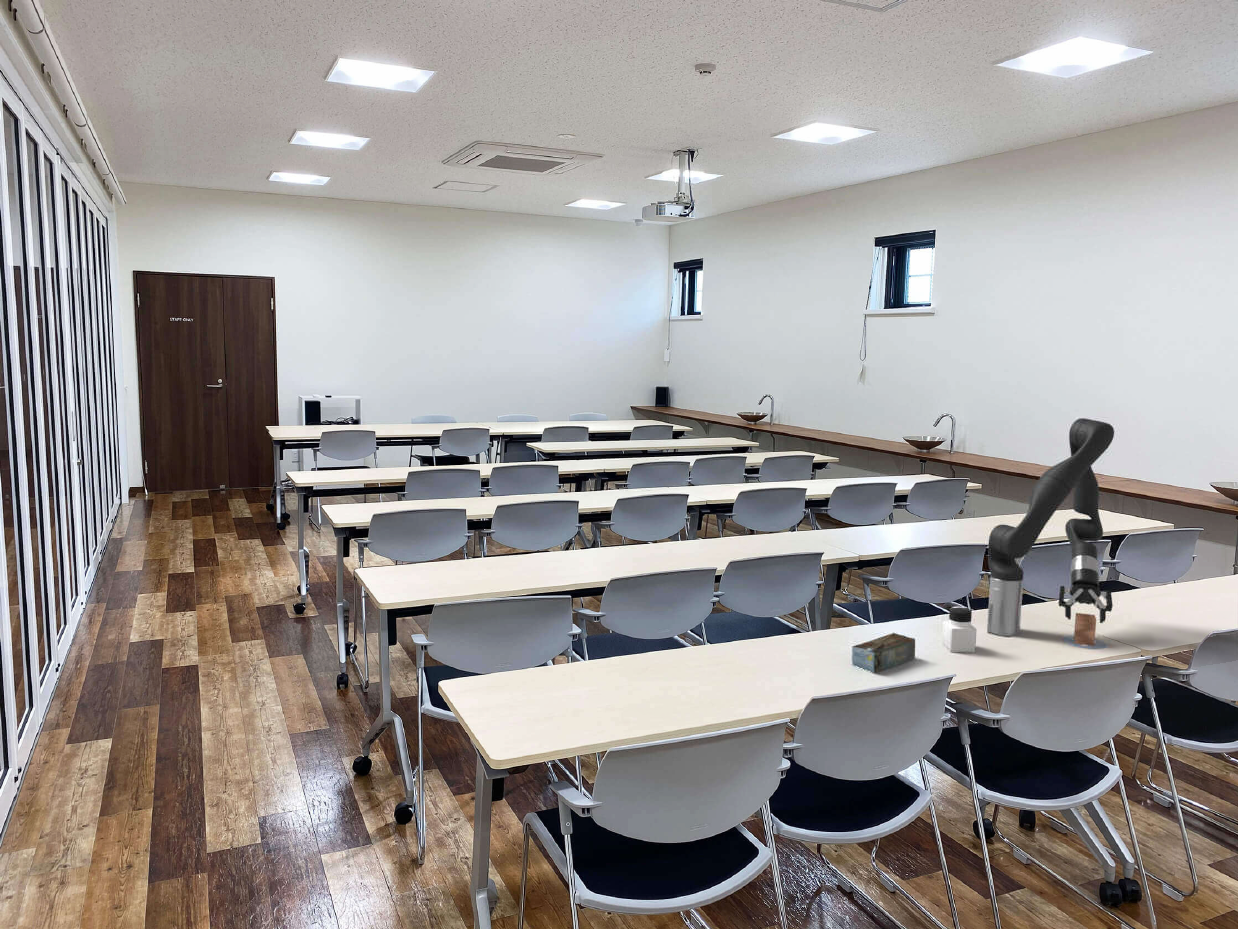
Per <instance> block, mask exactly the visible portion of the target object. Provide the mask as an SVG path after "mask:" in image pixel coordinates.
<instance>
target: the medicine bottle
mask: <svg viewBox="0 0 1238 929" xmlns="http://www.w3.org/2000/svg"><path fill="white" fill-rule="evenodd" d="M972 613H973V612H972V611H971V609H969V608H967V607H964V606H953V607H951V608H950V609H949V614H948V621H947V620H946V621H945V620H944V621H943V624H942V625H943V627H942V642H941V643H942V645H943V646H944V647H945V648H946V649H947V650H948V651H949V652H951V653H975V652H976V645H977V644H976V643H977V628H976V627H975V626H973V625H972V615H973V614H972Z"/></svg>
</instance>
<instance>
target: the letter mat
mask: <svg viewBox="0 0 1238 929" xmlns="http://www.w3.org/2000/svg"><path fill="white" fill-rule="evenodd" d="M1060 640H1061V641H1062V643H1065V644H1067V645H1068V646H1072V647H1075V648H1080V649H1081V648H1082V649H1087V650H1102V649H1105V648H1107V647H1108V645H1107V643H1106V642H1104V641H1102V640H1100V639H1096V638H1095V643H1094V646H1091V645H1083V644H1075V641H1074V635H1068V636H1067V635H1065V636H1062V637H1061V639H1060Z"/></svg>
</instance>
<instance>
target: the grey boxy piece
mask: <svg viewBox="0 0 1238 929" xmlns="http://www.w3.org/2000/svg"><path fill="white" fill-rule="evenodd" d="M851 648H852V649H851V650H852V652H851V663H852V664H851V666H852V665H854V666H857V667H859V668H858V669H860V668H862V669H864V670H863V671H865V670H867V671H866V672H868V671H870V672H869V673H871V672H872V673H871V674H876V673H879V672H882V671H885V669H886V670H888V669H890V668H891V669H892V668H894V667H895V666H896V667H897V666H898V665H902V664H904V663H907V662H910V661H913V660H915V659H916V639H915V638H914V637H909V636H906V635H903V634H898V633H895V632H892V633H889V634H886V635H883V636H880V637H878V638H875V639H872V640H870V641H866V642H863V643H860V644H856V645H853V646H851ZM854 666H853V667H854ZM857 667H856V668H857ZM862 669H861V670H862Z"/></svg>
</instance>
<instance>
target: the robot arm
mask: <svg viewBox="0 0 1238 929" xmlns="http://www.w3.org/2000/svg"><path fill="white" fill-rule="evenodd" d="M1068 434H1069V435H1068V439H1069V440H1068V442H1069V448H1070V449H1069V450H1070V457H1068V458H1066V459H1064V460H1062V461H1061V462H1059V463H1057V464H1055V465H1053V466H1051V467H1050V468H1048V469H1047V470H1046V471H1044V473H1043V474H1042V475H1041V476H1040V478H1039V479H1038V480H1037V481H1036V483H1035V484H1034V486H1033V487H1032V489H1031V492H1030V497H1029V505H1028V510H1027V513H1026V514H1025V516H1024V517H1023V519H1022V520H1021V521H1020V523H1019V524H1018V525H1017V526H1012V525H1008V524H1002V523H1001V524H998V525H996V526H995V527H993V529H991V532H990V535H989V538H988V544H987V545H988V548H987V550H988V552H987V553H988V555H987V556H988V557H987V558H988V560H987V561H988V568H989V570H990V577H989V579H990V580H989V594H988V608H987V610H988V612H987V625H986V626H987V627H986V630H987V631H986V633H988V632H991V633H990V634H993V633H994V635H996V634H997V635H996V636H1000V637H1001V636H1002V637H1014V636H1018V635H1020V632H1021V620H1022V619H1021V618H1022V606H1023V605H1022V602H1023V588H1024V587H1023V586H1024V570H1023V569H1022V567H1020V565H1019V564H1018V563H1017V561H1016V559H1022V558H1024V557H1025V556H1026V555H1027V554H1028V553H1029V552H1030V551H1031V550H1032V548H1033V547H1034V545H1035V543H1036V541H1037V540H1038V538H1039V536H1040V535H1041V533H1042V531H1043V530H1044V528H1045V526H1047V524H1048V523H1049V521H1050V519H1052V517H1053V516H1054V514H1055V513H1056V512H1057V509H1059V507H1060V506H1061V505H1062V504H1063V503H1064V501H1065V500H1066V498H1067V497H1068V496H1069V495H1070V493H1071V491H1072V490H1073V498H1072V499H1073V500H1072V509H1073V510H1074V512H1075V513H1078V514H1080V515H1085V516H1088V517H1089V519H1088V518H1075V517H1074V518H1070V519H1069V520H1068V521H1067V522H1066V523H1065V529H1064V530H1065V534H1066V537H1067V539H1068V541H1069V545H1070V547H1071V548H1070V549H1071V563H1070V564H1071V565H1070V588H1068V587H1065V586H1064V585H1060V587H1059V588H1060V589H1059V594H1058V606H1059V607H1063V608H1064V612H1065V613H1064V616H1065V618H1067V620H1071V619H1072V618H1071V617H1072V606H1075V604H1077V603H1078V604H1086V605H1089V606H1090V605H1091V604H1092V605H1093V606H1094V607H1095V608H1096V609H1097V610H1099V623H1100V624H1103V623H1104V622H1106V618H1107V616H1106V615H1107V614H1106V612H1109V613H1110V612H1112V611H1113V610H1112V609H1113V606H1114V605H1113V597H1112V591H1111V589H1110V590H1109V589H1108V590H1106V591H1101V590H1100V580H1099V579H1100V578H1099V565H1098V549H1097V547H1096V545H1095V544H1094V543H1091V542H1099V541H1100V540H1101V539H1102V537H1103V535H1104V529H1103V525H1102V524H1103V523H1102V520H1101V518H1100V513H1099V497H1100V496H1099V495H1100V487H1099V482H1098V479H1097V478H1096V475H1095V472H1094V471H1093V468H1092V465H1093V464H1094V463H1095V462H1096V461H1097V460H1098V459H1099V458H1100V457H1101V456H1102V455H1103V454H1104V453H1105V452H1106V450H1107V449H1108V448H1109V447H1110V445H1111V443H1112V442H1113V440H1114V437H1115V428H1114V427H1113V425H1112V424H1111V423H1107V422H1104V421H1099V420H1096V419H1090V418H1086V417H1085V418H1083V417H1082V418H1077V419H1076V420H1075V421H1074V422H1073V423H1072V424H1071V426H1070V428H1069V433H1068ZM1068 593H1069V595H1070V598H1069V599H1068V600H1067V601H1065V600H1064V599H1065V596H1067V595H1068ZM1101 596H1102V598H1103V599H1104V600H1105V603H1106V604H1104V603H1103V602H1102V600H1101V599H1100V597H1101Z"/></svg>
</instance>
